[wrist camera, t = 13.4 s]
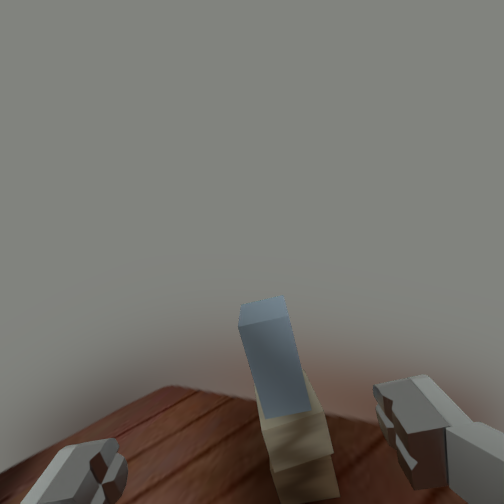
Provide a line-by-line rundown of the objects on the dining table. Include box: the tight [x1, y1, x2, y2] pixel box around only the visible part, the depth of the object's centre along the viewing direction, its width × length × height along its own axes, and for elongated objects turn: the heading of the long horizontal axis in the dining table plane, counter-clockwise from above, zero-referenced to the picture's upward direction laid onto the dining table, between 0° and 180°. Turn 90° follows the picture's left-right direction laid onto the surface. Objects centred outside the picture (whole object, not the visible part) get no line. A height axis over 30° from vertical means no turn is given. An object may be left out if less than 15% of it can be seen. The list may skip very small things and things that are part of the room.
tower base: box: [269, 454, 340, 504], centre depth 28 cm, size 6×6×5 cm
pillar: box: [238, 295, 312, 419], centre depth 25 cm, size 4×4×10 cm
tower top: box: [254, 370, 334, 473], centre depth 27 cm, size 6×6×5 cm
